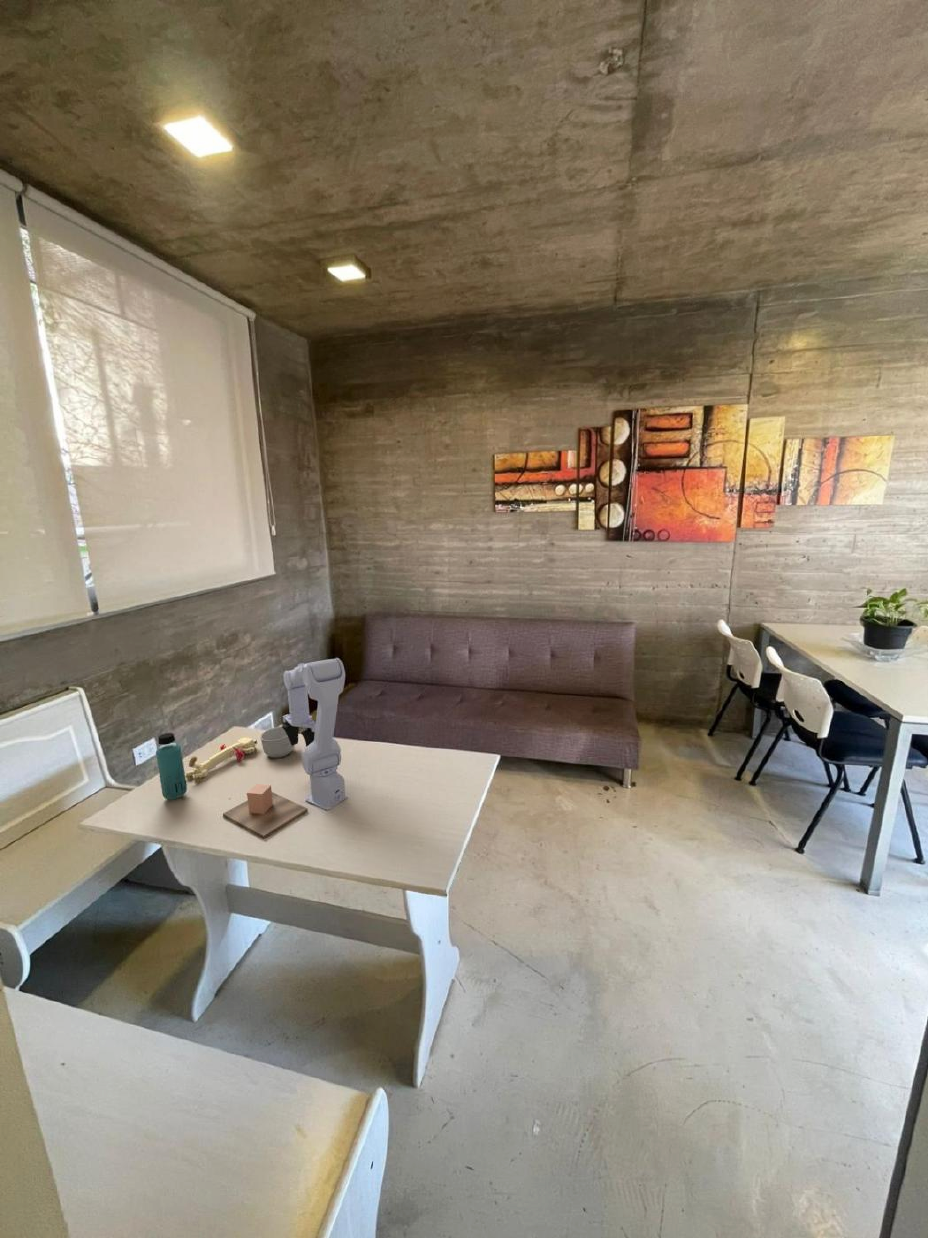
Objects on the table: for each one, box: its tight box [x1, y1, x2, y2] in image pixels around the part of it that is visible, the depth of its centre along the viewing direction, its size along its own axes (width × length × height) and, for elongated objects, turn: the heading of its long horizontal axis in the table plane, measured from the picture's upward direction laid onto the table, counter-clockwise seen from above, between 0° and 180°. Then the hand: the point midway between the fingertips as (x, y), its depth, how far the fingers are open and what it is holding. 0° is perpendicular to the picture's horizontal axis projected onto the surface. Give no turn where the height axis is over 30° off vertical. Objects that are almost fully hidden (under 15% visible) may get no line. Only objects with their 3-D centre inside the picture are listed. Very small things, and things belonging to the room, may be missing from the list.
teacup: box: [259, 724, 295, 759], centre depth 171 cm, size 14×11×8 cm
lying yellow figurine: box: [185, 737, 258, 783], centre depth 163 cm, size 10×9×25 cm
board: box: [222, 791, 309, 840], centre depth 135 cm, size 18×14×1 cm
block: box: [246, 783, 273, 814], centre depth 136 cm, size 4×4×6 cm
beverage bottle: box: [155, 732, 188, 800], centre depth 142 cm, size 6×7×20 cm
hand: (302, 747), depth 154 cm, fingers open, 7 cm apart
